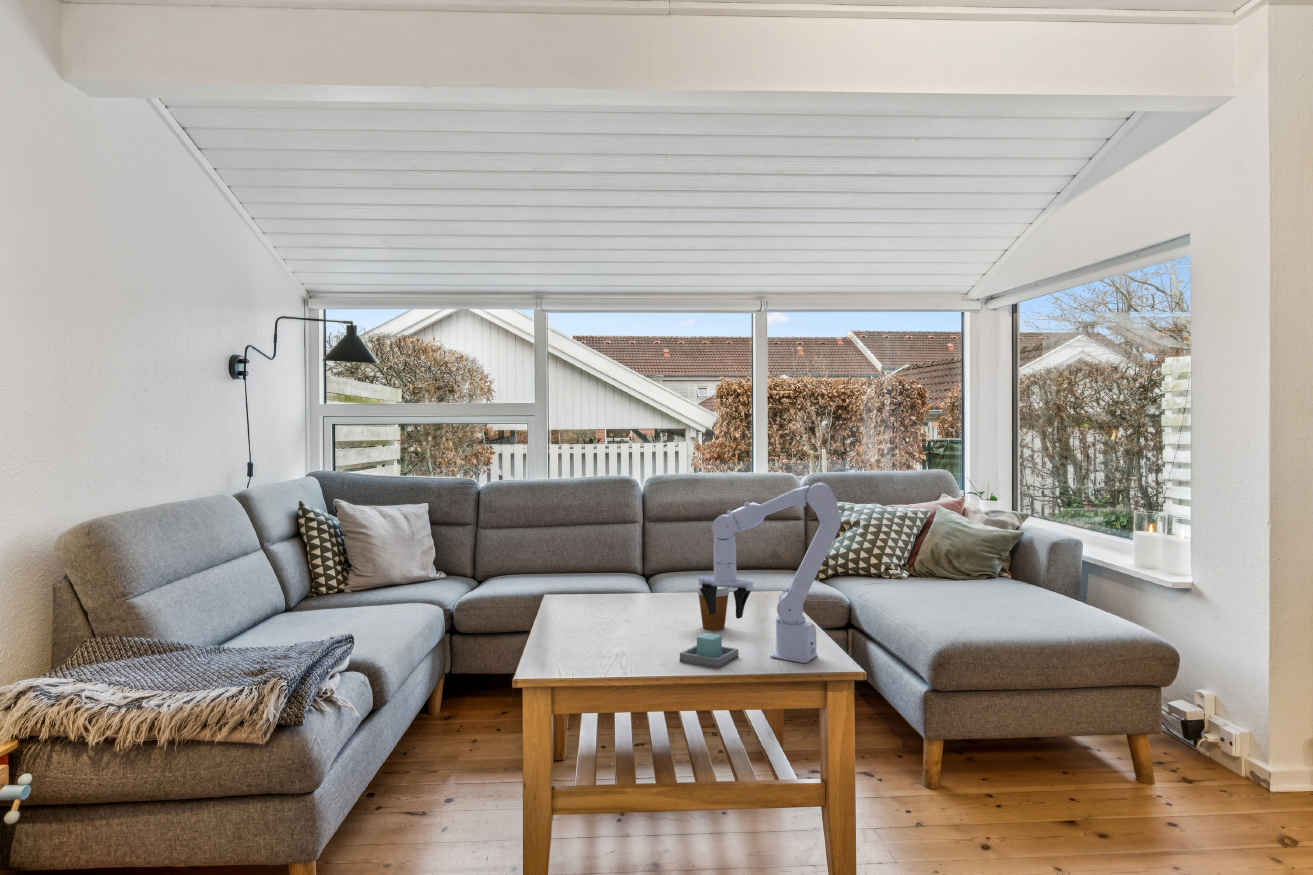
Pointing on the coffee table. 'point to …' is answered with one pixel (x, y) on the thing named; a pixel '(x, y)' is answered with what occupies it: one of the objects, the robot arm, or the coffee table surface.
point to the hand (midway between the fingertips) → (725, 615)
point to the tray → (693, 658)
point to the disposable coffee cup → (719, 617)
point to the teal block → (709, 645)
